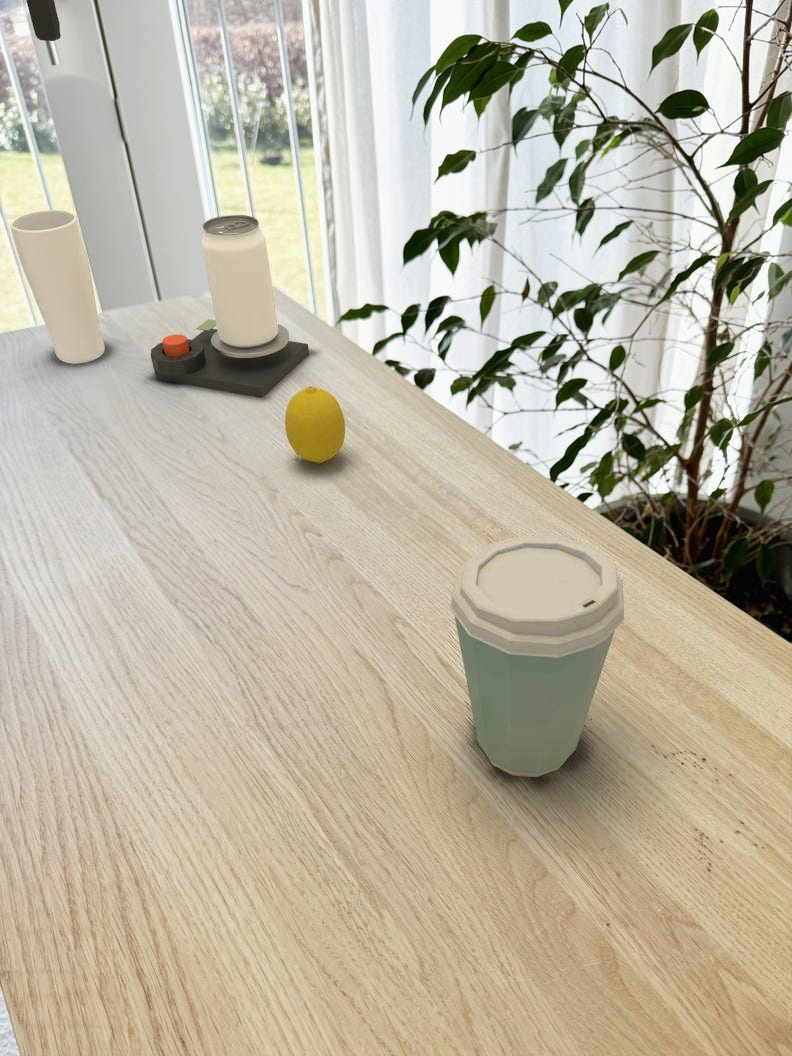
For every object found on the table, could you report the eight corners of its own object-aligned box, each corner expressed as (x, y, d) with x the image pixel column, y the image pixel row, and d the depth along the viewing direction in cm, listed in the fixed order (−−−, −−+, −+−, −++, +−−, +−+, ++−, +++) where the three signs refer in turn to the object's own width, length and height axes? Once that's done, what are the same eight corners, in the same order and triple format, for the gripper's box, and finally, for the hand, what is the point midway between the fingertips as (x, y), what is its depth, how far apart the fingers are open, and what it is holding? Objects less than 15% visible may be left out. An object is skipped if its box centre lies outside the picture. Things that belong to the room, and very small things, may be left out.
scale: (146, 382, 109) (140, 356, 107) (203, 338, 117) (199, 313, 115) (258, 402, 106) (254, 376, 104) (309, 355, 114) (306, 330, 112)
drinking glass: (38, 365, 112) (-5, 228, 102) (71, 339, 117) (32, 206, 107) (93, 371, 111) (54, 234, 101) (123, 345, 116) (89, 211, 106)
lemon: (283, 457, 97) (271, 381, 92) (336, 443, 99) (328, 368, 94) (302, 484, 94) (291, 407, 88) (357, 469, 96) (350, 393, 90)
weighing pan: (172, 347, 109) (170, 343, 108) (212, 316, 115) (211, 312, 114) (266, 363, 106) (265, 358, 106) (302, 330, 112) (302, 326, 111)
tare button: (160, 356, 108) (157, 342, 107) (173, 346, 110) (170, 332, 109) (181, 359, 107) (178, 346, 106) (194, 349, 109) (191, 336, 108)
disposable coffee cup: (421, 736, 70) (411, 563, 60) (536, 667, 75) (544, 498, 65) (524, 830, 64) (530, 654, 54) (641, 748, 69) (667, 574, 59)
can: (207, 336, 110) (185, 224, 102) (256, 318, 113) (239, 208, 105) (241, 355, 106) (221, 240, 98) (291, 336, 110) (275, 223, 102)
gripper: (-25, -198, 82) (35, 31, 93) (-162, -190, 72) (-78, 65, 83) (52, -197, 80) (103, 36, 91) (-78, -190, 70) (-3, 72, 81)
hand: (17, 50), depth 87 cm, fingers open, 8 cm apart
